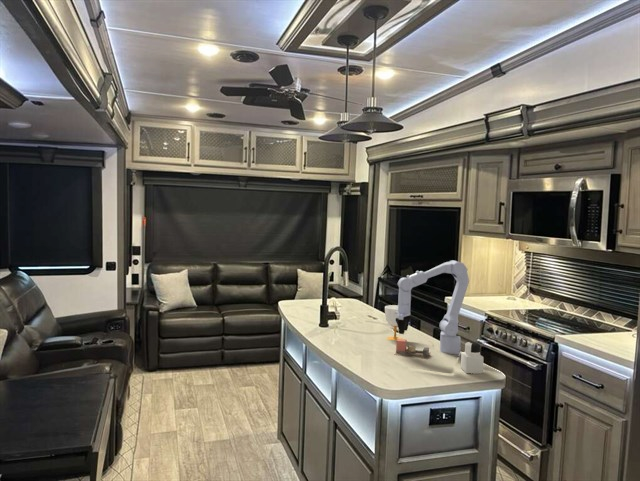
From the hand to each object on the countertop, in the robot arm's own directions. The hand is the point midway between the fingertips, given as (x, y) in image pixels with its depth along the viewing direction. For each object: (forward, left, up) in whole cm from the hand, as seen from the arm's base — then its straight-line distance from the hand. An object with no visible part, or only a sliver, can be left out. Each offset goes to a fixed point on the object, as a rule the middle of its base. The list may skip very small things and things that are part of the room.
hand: (403, 331), depth 222 cm
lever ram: (0, +4, -9) cm, 9 cm away
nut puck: (-5, +3, -9) cm, 11 cm away
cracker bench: (-5, +4, -10) cm, 12 cm away
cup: (+8, -22, -10) cm, 26 cm away
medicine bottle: (-32, +13, -10) cm, 36 cm away
